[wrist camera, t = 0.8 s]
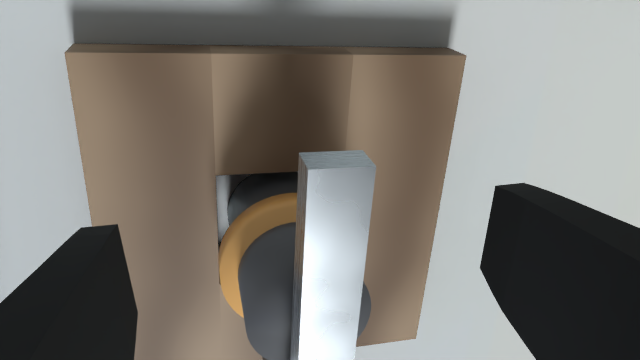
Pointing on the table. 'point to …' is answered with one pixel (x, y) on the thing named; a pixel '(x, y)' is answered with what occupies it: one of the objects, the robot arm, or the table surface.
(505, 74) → the table surface
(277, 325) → the plug
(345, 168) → the grey rectangular bar
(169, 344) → the socket block
